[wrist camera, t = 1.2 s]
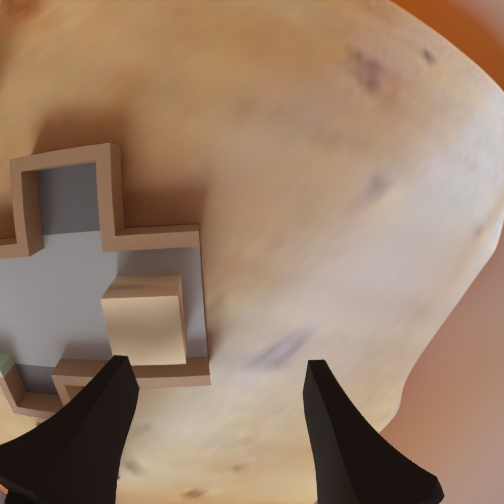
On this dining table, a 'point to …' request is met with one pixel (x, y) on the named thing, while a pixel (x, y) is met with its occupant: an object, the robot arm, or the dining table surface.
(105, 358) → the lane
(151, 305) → the maple block
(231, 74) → the dining table surface
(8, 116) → the dining table surface
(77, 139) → the dining table surface
